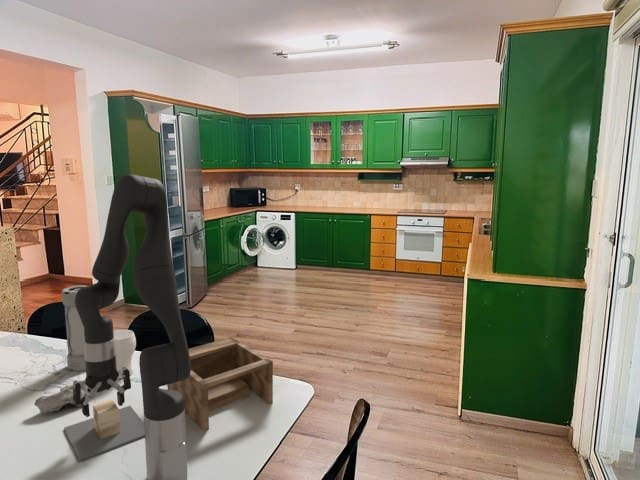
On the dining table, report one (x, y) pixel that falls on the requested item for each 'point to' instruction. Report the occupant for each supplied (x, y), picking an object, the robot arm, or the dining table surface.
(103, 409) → the block
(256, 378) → the access box
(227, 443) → the dining table surface
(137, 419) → the mat
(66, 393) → the rock
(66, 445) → the dining table surface
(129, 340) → the cup
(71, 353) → the canister
